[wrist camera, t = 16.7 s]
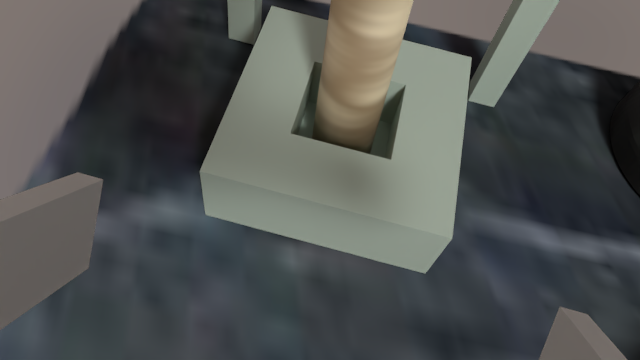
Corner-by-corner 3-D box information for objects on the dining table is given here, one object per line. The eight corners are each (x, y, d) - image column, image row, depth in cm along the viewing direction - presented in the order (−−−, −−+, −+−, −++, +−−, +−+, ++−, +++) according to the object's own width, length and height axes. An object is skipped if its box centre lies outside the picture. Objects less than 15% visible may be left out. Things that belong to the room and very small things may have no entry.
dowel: (373, 129, 36) (417, -29, 27) (367, 174, 34) (412, 19, 24) (316, 117, 37) (340, -44, 27) (306, 161, 34) (327, 2, 24)
